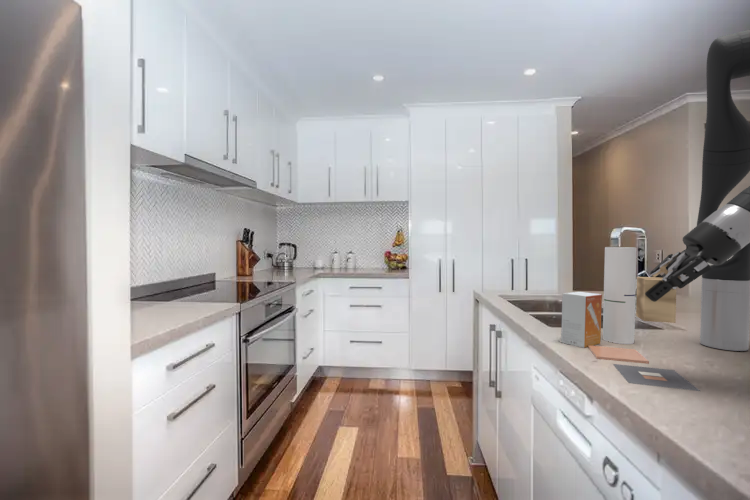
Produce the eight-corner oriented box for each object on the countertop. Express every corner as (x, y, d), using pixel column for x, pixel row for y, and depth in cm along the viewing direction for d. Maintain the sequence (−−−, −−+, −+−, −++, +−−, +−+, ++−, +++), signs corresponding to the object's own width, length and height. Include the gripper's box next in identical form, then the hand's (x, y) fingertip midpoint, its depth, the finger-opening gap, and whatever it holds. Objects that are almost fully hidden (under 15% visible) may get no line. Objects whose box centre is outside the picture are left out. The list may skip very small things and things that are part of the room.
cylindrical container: (640, 344, 100) (643, 247, 100) (612, 343, 100) (615, 247, 100) (623, 337, 107) (625, 247, 107) (597, 337, 107) (599, 247, 107)
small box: (584, 348, 96) (585, 296, 95) (560, 342, 101) (561, 293, 101) (601, 344, 100) (602, 293, 100) (577, 338, 105) (578, 291, 105)
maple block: (636, 315, 79) (636, 276, 78) (665, 317, 77) (666, 277, 77) (644, 321, 74) (645, 279, 74) (675, 322, 72) (676, 280, 72)
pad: (588, 347, 96) (588, 345, 96) (634, 351, 93) (635, 349, 93) (596, 359, 87) (596, 356, 87) (648, 364, 84) (649, 361, 84)
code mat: (612, 364, 83) (612, 363, 83) (673, 370, 80) (673, 369, 80) (628, 383, 72) (628, 382, 72) (700, 391, 68) (700, 390, 68)
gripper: (687, 221, 79) (619, 278, 84) (724, 218, 66) (640, 286, 70) (719, 247, 78) (647, 304, 82) (763, 250, 64) (674, 317, 68)
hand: (644, 295), depth 76 cm, fingers closed on maple block, 5 cm apart
